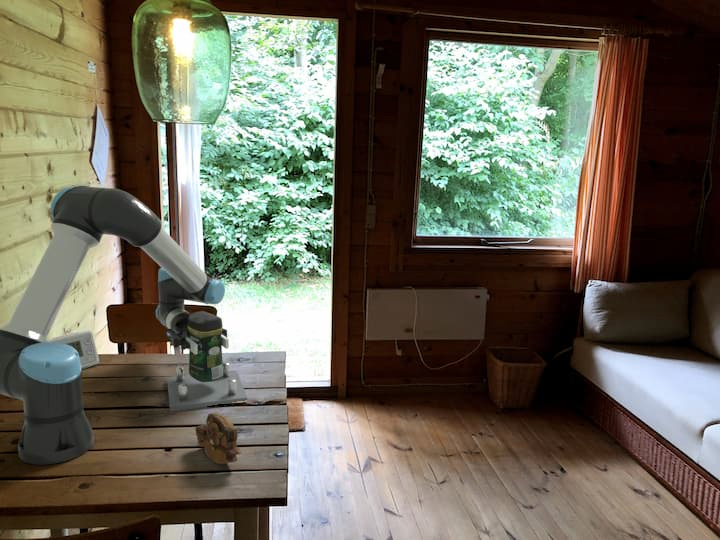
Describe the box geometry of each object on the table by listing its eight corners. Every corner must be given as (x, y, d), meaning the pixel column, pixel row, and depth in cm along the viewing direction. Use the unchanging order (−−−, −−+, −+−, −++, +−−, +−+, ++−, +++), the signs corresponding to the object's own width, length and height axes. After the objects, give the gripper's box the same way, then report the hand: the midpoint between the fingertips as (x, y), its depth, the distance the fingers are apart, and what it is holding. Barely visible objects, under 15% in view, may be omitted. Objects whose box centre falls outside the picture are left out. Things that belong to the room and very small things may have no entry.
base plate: (247, 402, 156) (247, 383, 155) (170, 411, 149) (169, 392, 148) (236, 375, 174) (236, 358, 173) (167, 381, 167) (166, 364, 166)
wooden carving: (188, 449, 132) (187, 408, 129) (205, 442, 135) (204, 402, 133) (230, 478, 121) (230, 434, 119) (248, 469, 124) (248, 427, 122)
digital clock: (45, 380, 165) (42, 345, 163) (37, 371, 172) (34, 337, 170) (103, 368, 176) (101, 335, 174) (94, 359, 182) (92, 327, 180)
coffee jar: (184, 375, 161) (182, 312, 157) (208, 368, 167) (207, 307, 163) (203, 386, 155) (201, 320, 151) (227, 378, 161) (227, 314, 157)
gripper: (216, 330, 180) (247, 352, 162) (147, 341, 168) (174, 367, 150) (215, 307, 178) (247, 327, 160) (146, 317, 166) (173, 340, 148)
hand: (211, 346), depth 155 cm, fingers closed on coffee jar, 8 cm apart
